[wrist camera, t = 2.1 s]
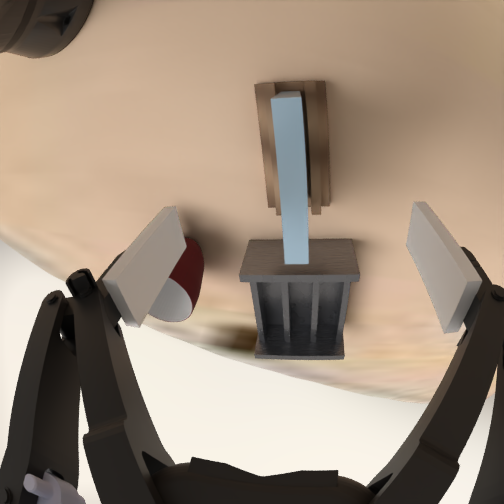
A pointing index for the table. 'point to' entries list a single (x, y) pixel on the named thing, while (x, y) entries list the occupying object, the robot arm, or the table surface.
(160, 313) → the mug
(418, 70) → the table surface
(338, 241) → the rack
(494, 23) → the table surface
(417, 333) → the table surface
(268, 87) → the stand
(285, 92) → the light blue slab
